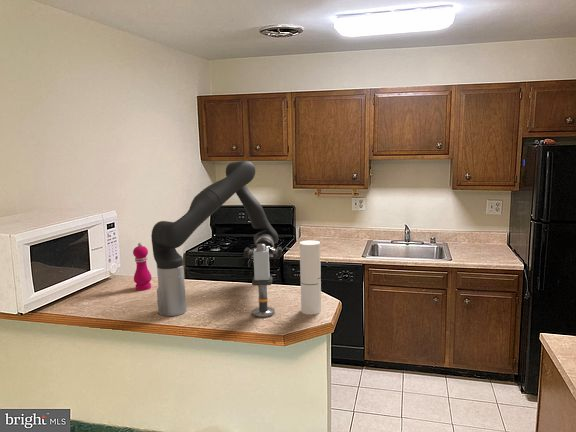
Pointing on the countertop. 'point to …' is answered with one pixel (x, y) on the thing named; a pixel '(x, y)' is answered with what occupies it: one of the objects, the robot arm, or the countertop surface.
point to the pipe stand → (262, 297)
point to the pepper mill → (141, 268)
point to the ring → (262, 282)
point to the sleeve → (261, 264)
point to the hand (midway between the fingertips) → (262, 256)
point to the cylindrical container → (310, 277)
